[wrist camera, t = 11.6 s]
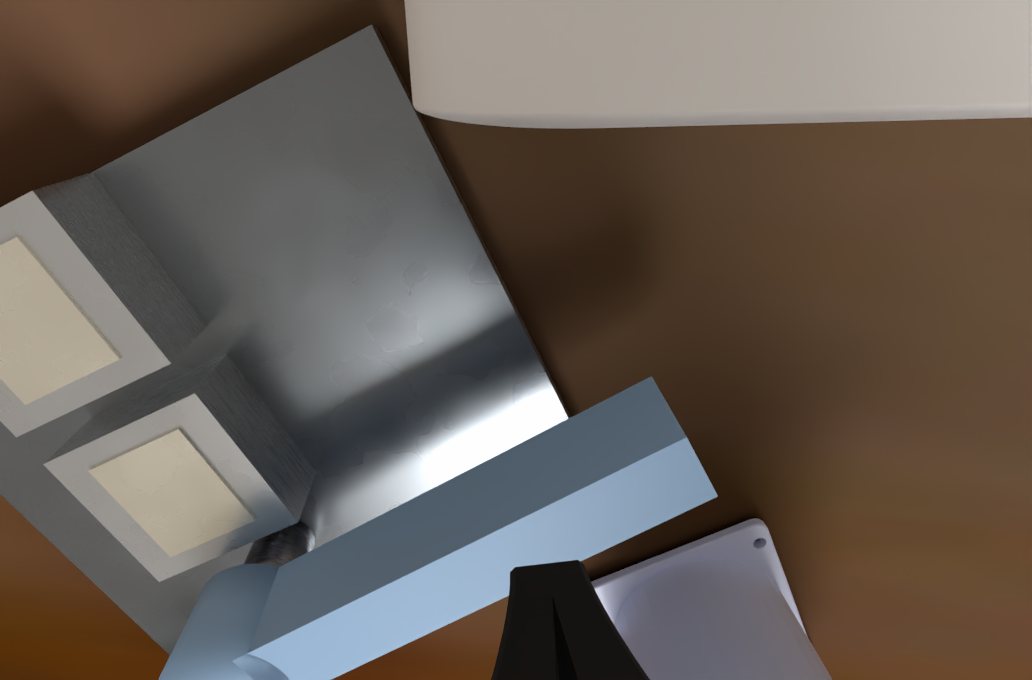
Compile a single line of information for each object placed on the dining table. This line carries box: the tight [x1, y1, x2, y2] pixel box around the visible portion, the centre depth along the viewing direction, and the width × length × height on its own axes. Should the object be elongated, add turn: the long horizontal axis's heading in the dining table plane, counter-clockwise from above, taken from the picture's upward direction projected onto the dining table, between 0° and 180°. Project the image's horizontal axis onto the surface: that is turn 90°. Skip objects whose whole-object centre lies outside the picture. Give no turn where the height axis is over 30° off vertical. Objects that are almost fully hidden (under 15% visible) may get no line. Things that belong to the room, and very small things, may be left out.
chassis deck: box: [0, 25, 571, 655], centre depth 21 cm, size 18×18×1 cm
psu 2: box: [0, 172, 207, 437], centre depth 17 cm, size 5×5×3 cm
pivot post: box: [244, 521, 315, 567], centre depth 21 cm, size 2×2×4 cm
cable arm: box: [159, 376, 718, 680], centre depth 17 cm, size 16×4×3 cm, turn 119°
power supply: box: [43, 353, 316, 582], centre depth 19 cm, size 5×5×3 cm
